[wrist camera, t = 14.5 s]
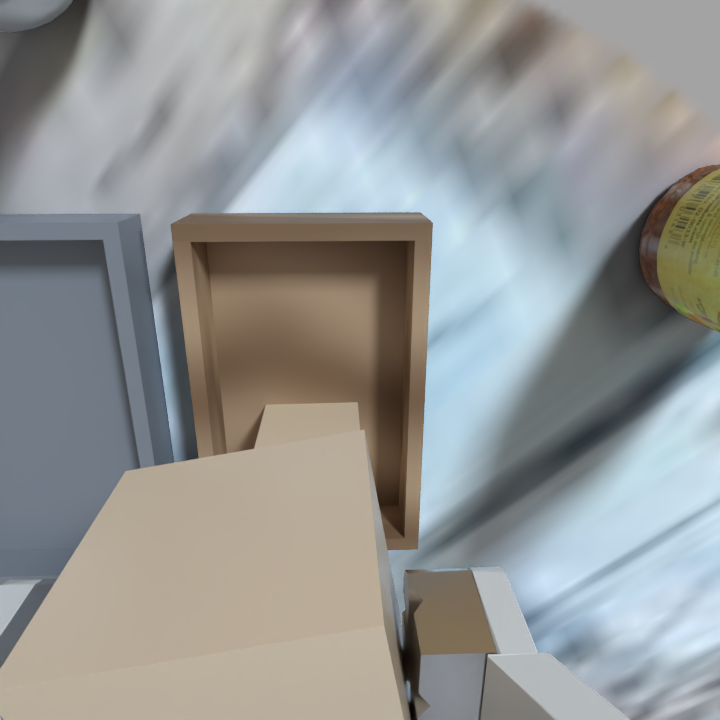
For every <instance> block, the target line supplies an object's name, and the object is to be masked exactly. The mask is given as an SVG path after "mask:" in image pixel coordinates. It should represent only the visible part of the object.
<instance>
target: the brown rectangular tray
mask: <svg viewBox="0 0 720 720" xmlns="http://www.w3.org/2000/svg"><path fill="white" fill-rule="evenodd" d="M432 228H433V223H432V222H431V221H430V220H429V219H427V218H426V217H425V216H424V215H423V214H422V213H239V214H190V215H188V216H186V217H184V218H182V219H180V220H178V221H176V222H174V223H173V224H171V231H172V240H173V248H174V256H175V265H176V273H177V281H178V290H179V298H180V306H181V315H182V323H183V332H184V340H185V348H186V357H187V365H188V373H189V382H190V390H191V398H192V407H193V415H194V424H195V432H196V440H197V449H198V457H199V458H204V457H210V456H215V455H221V454H227V453H233V452H238V451H244V450H250V449H254V447H255V443H256V440H257V436H258V432H259V428H260V425H261V421H262V417H263V413H264V409H265V406H266V405H275V404H313V403H350V402H358V411H359V423H360V430H365V436H366V441H367V446H368V451H369V456H370V462H371V467H372V472H373V477H374V482H375V487H376V493H377V498H378V503H379V508H380V513H381V518H382V524H383V529H384V534H385V539H386V544H387V550H409V549H418V533H419V511H420V490H421V468H422V446H423V424H424V402H425V380H426V359H427V337H428V315H429V293H430V271H431V249H432Z"/></svg>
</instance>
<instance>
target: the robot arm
mask: <svg viewBox="0 0 720 720" xmlns="http://www.w3.org/2000/svg"><path fill="white" fill-rule="evenodd" d="M56 580H57V579H43V580H9V581H7V582H5V583H3V584H2V585H0V669H1V667H2V666H3V664H4V662H5V661H6V659H7V658H8V656H9V654H10V653H11V651H12V650H13V648H14V647H15V645H16V643H17V642H18V640H19V639H20V637H21V636H22V634H23V632H24V631H25V629H26V628H27V626H28V624H29V623H30V621H31V620H32V618H33V617H34V615H35V613H36V612H37V610H38V609H39V607H40V606H41V604H42V602H43V601H44V599H45V598H46V596H47V594H48V593H49V591H50V590H51V588H52V587H53V585H54V583H55V582H56ZM403 593H404V600H405V607H406V609H405V611H404V612H403V613H402V646H403V656H404V664H405V671H406V678H407V681H408V682H409V683H410V709H411V717H412V720H630V719H629V718H627V717H626V716H625V715H624V714H623V713H621V712H620V711H619V710H618V709H616V708H615V707H614V706H613V705H612V704H610V703H609V702H608V701H607V700H605V699H604V698H603V697H602V696H601V695H599V694H598V693H597V692H596V691H594V690H593V689H592V688H591V687H590V686H588V685H587V684H586V683H585V682H583V681H582V680H581V679H580V678H579V677H577V676H576V675H575V674H574V673H572V672H571V671H570V670H569V669H568V668H566V667H565V666H564V665H563V664H561V663H560V662H559V661H558V660H557V659H555V658H554V657H553V656H552V655H551V654H549V653H538V651H537V649H536V646H535V644H534V641H533V639H532V636H531V634H530V631H529V629H528V626H527V624H526V621H525V619H524V616H523V614H522V612H521V609H520V607H519V604H518V602H517V599H516V597H515V594H514V592H513V589H512V587H511V584H510V582H509V579H508V577H507V574H506V572H505V570H504V569H503V568H502V567H501V566H489V567H469V568H468V569H467V568H454V569H426V570H405V573H404V583H403ZM0 720H3V719H2V717H1V716H0Z"/></svg>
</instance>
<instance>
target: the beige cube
mask: <svg viewBox="0 0 720 720" xmlns="http://www.w3.org/2000/svg"><path fill="white" fill-rule="evenodd" d="M0 716H1V717H2V719H3V720H412V717H411V709H410V684H409V682H408V681H407V678H406V671H405V664H404V656H403V646H402V625H401V618H400V612H399V607H398V601H397V596H396V591H395V586H394V581H393V575H392V570H391V565H390V560H389V555H388V550H387V544H386V539H385V534H384V529H383V524H382V518H381V513H380V508H379V503H378V498H377V493H376V487H375V482H374V477H373V472H372V467H371V462H370V456H369V451H368V446H367V441H366V436H365V430H359V431H353V432H348V433H342V434H336V435H330V436H325V437H319V438H313V439H307V440H302V441H296V442H290V443H284V444H279V445H273V446H267V447H261V448H256V449H250V450H244V451H238V452H233V453H227V454H221V455H215V456H210V457H204V458H198V459H192V460H187V461H181V462H175V463H169V464H164V465H158V466H152V467H146V468H141V469H135V470H129V471H125V473H124V475H123V476H122V478H121V479H120V481H119V482H118V484H117V486H116V487H115V489H114V490H113V492H112V493H111V495H110V497H109V498H108V500H107V501H106V503H105V505H104V506H103V508H102V509H101V511H100V512H99V514H98V516H97V517H96V519H95V520H94V522H93V523H92V525H91V527H90V528H89V530H88V531H87V533H86V535H85V536H84V538H83V539H82V541H81V542H80V544H79V546H78V547H77V549H76V550H75V552H74V553H73V555H72V557H71V558H70V560H69V561H68V563H67V564H66V566H65V568H64V569H63V571H62V572H61V574H60V576H59V577H58V579H57V580H56V582H55V583H54V585H53V587H52V588H51V590H50V591H49V593H48V594H47V596H46V598H45V599H44V601H43V602H42V604H41V606H40V607H39V609H38V610H37V612H36V613H35V615H34V617H33V618H32V620H31V621H30V623H29V624H28V626H27V628H26V629H25V631H24V632H23V634H22V636H21V637H20V639H19V640H18V642H17V643H16V645H15V647H14V648H13V650H12V651H11V653H10V654H9V656H8V658H7V659H6V661H5V662H4V664H3V666H2V667H1V669H0Z"/></svg>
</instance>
